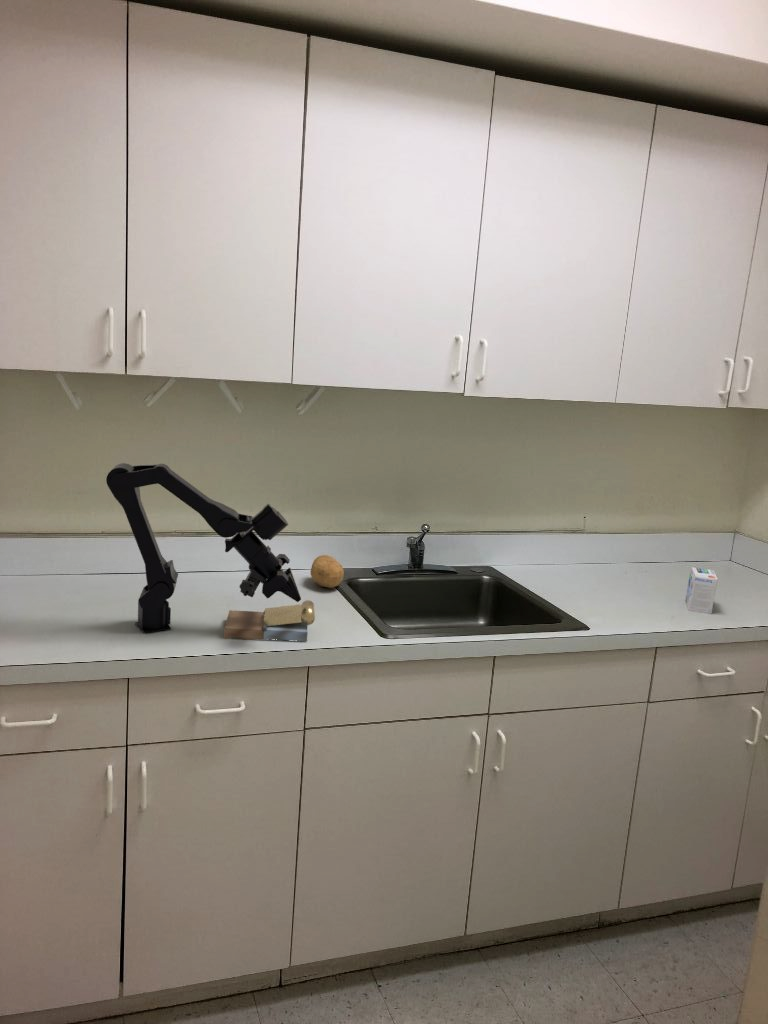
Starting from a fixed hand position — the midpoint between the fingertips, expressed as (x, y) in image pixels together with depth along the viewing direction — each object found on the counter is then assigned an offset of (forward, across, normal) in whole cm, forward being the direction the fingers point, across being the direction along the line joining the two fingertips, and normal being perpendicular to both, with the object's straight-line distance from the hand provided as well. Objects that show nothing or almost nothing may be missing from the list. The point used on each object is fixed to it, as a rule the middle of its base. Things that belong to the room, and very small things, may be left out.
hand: (299, 600), depth 193 cm
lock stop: (-2, 0, -9) cm, 9 cm away
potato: (+11, -37, 0) cm, 38 cm away
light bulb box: (+89, -35, +79) cm, 124 cm away
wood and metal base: (0, 0, -11) cm, 11 cm away
